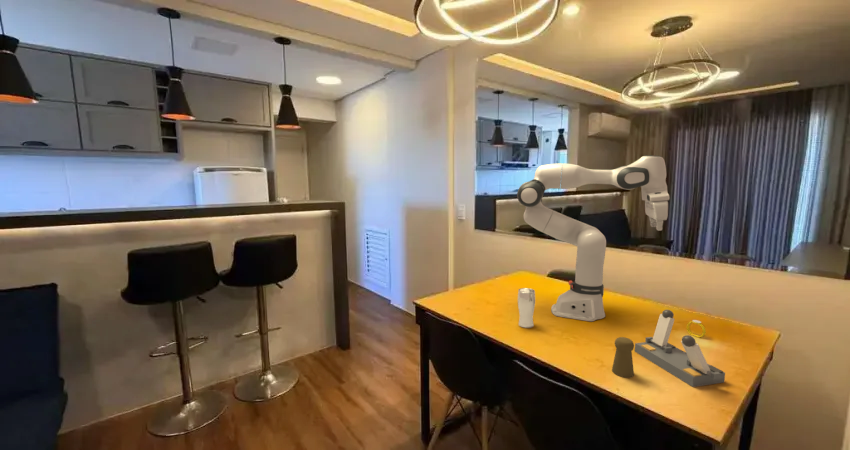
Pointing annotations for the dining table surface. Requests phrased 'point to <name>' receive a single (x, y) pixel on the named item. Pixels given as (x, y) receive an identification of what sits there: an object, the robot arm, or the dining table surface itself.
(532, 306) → the beer glass
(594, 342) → the dining table surface
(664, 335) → the lever
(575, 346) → the dining table surface
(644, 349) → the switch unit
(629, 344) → the brown pawn
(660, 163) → the robot arm
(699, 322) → the watch
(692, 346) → the lever
